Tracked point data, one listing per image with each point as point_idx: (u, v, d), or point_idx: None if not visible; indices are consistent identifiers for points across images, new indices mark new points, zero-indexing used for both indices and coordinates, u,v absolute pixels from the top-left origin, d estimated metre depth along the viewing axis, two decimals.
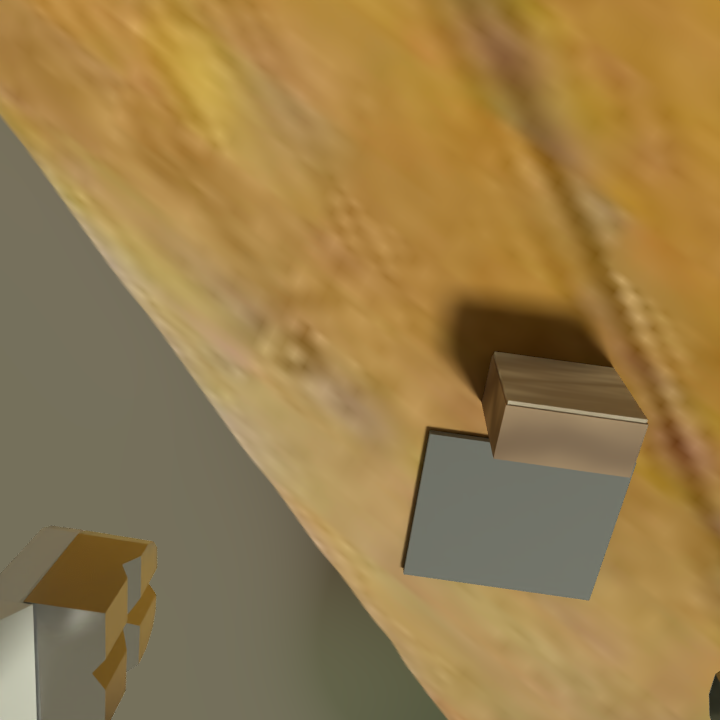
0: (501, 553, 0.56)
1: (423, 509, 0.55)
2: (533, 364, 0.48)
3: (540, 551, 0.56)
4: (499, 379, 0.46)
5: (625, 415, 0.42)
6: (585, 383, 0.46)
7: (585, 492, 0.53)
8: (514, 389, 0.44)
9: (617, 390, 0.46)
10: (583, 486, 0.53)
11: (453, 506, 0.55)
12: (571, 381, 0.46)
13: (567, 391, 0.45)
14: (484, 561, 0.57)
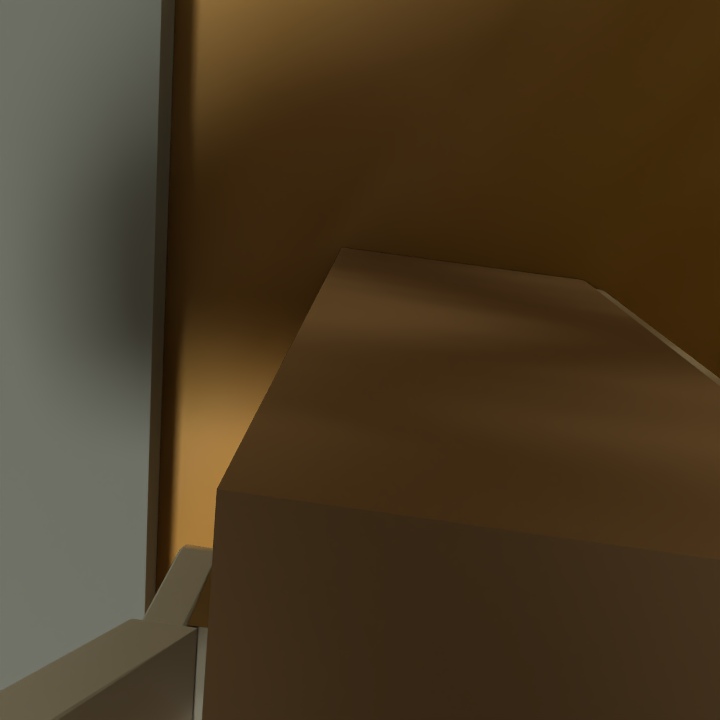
0: None
1: None
2: None
3: None
4: (686, 366, 0.07)
5: None
6: None
7: None
8: None
9: None
10: (5, 668, 0.13)
11: None
12: None
13: None
14: None
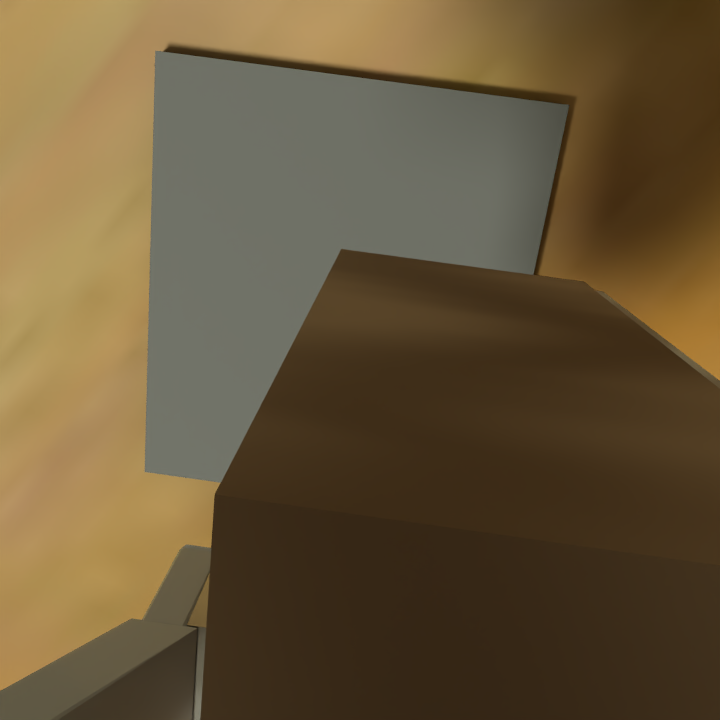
0: (244, 288, 0.25)
1: (356, 97, 0.23)
2: None
3: (259, 368, 0.26)
4: (686, 368, 0.07)
5: None
6: None
7: None
8: None
9: None
10: None
11: (368, 170, 0.24)
12: None
13: None
14: (219, 251, 0.25)
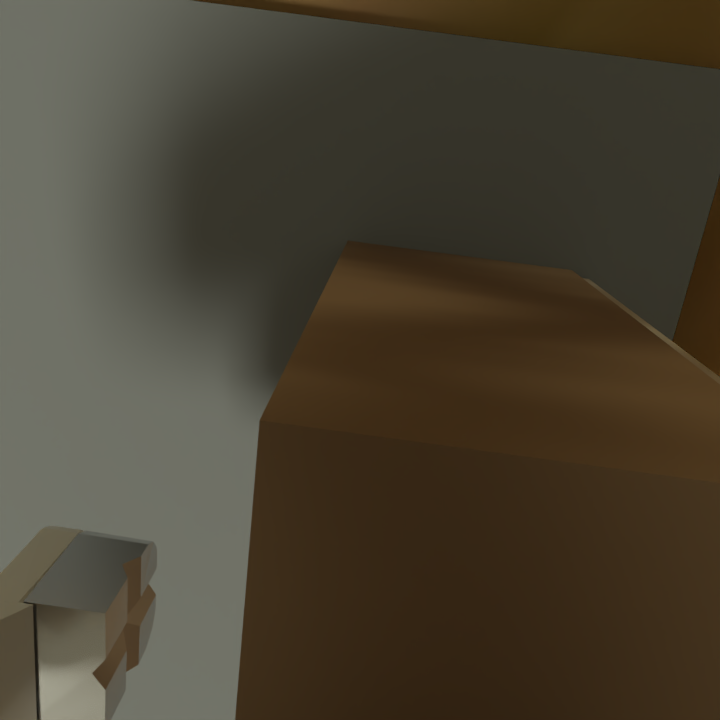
0: (105, 423, 0.13)
1: (307, 58, 0.11)
2: None
3: None
4: None
5: None
6: None
7: None
8: None
9: None
10: None
11: (334, 205, 0.12)
12: None
13: None
14: (52, 358, 0.13)
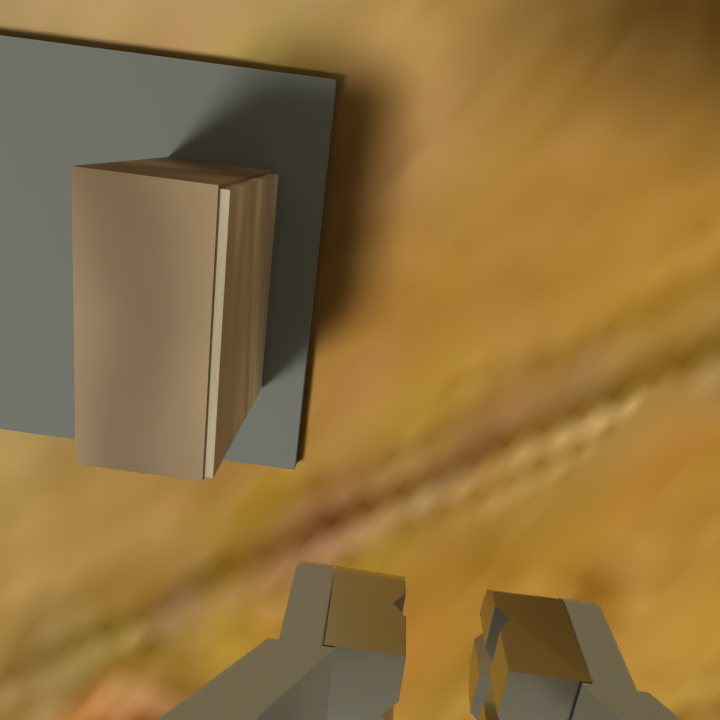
0: (57, 251, 0.27)
1: (143, 72, 0.25)
2: (266, 249, 0.25)
3: None
4: (247, 178, 0.22)
5: (216, 436, 0.21)
6: (248, 348, 0.24)
7: None
8: (242, 207, 0.20)
9: (241, 406, 0.24)
10: None
11: (160, 140, 0.26)
12: (250, 322, 0.24)
13: (240, 318, 0.22)
14: (31, 217, 0.27)
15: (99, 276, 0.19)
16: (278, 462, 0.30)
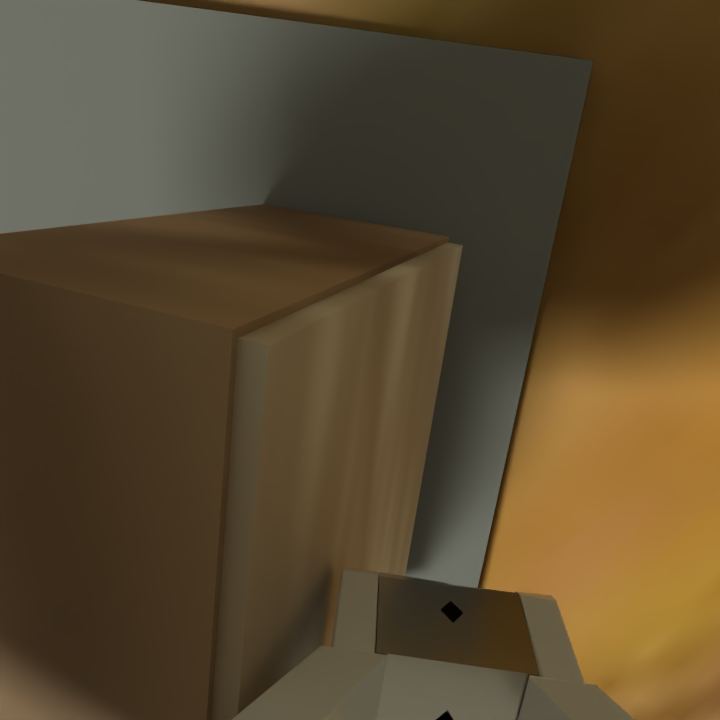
0: None
1: (223, 47, 0.13)
2: (421, 398, 0.12)
3: None
4: (376, 270, 0.09)
5: None
6: None
7: None
8: (338, 361, 0.07)
9: None
10: None
11: (250, 174, 0.14)
12: (367, 562, 0.11)
13: (330, 592, 0.09)
14: None
15: None
16: None
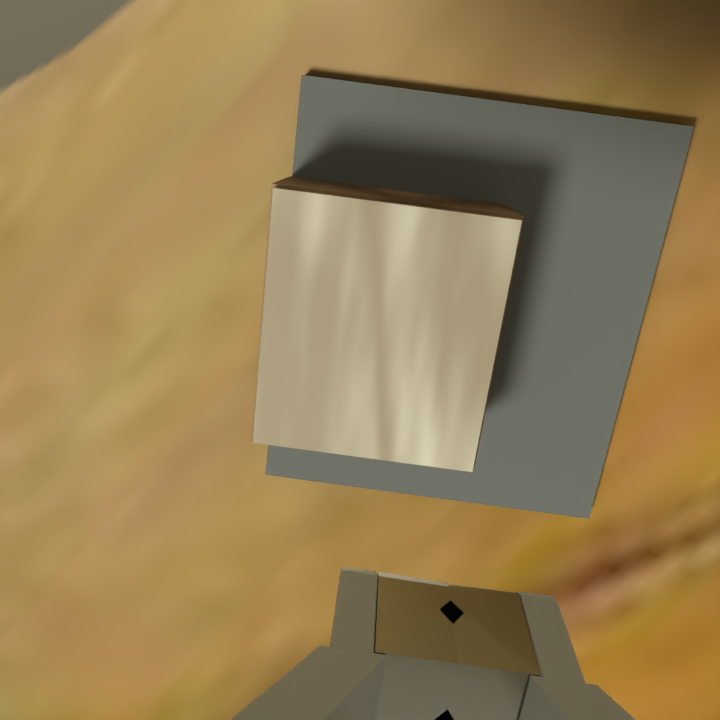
0: None
1: (492, 119, 0.24)
2: (460, 297, 0.22)
3: None
4: (390, 200, 0.21)
5: (260, 408, 0.23)
6: (383, 381, 0.23)
7: (526, 443, 0.28)
8: (325, 215, 0.21)
9: (363, 435, 0.23)
10: (540, 438, 0.28)
11: (499, 187, 0.25)
12: (389, 355, 0.23)
13: (339, 330, 0.22)
14: None
15: None
16: (573, 511, 0.29)
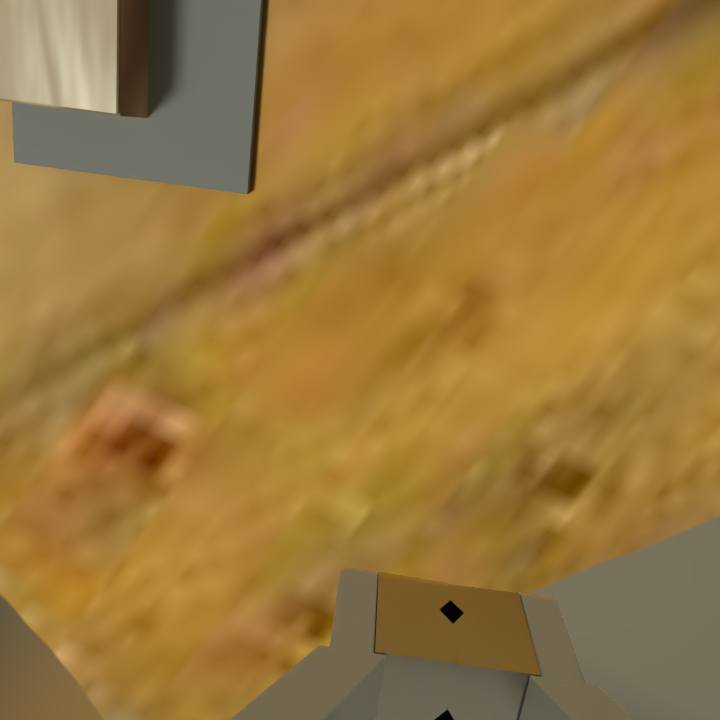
0: None
1: None
2: None
3: None
4: None
5: None
6: (47, 43, 0.34)
7: (194, 132, 0.39)
8: None
9: (40, 86, 0.34)
10: (203, 128, 0.39)
11: None
12: (47, 21, 0.34)
13: (12, 3, 0.33)
14: None
15: None
16: (235, 188, 0.40)
